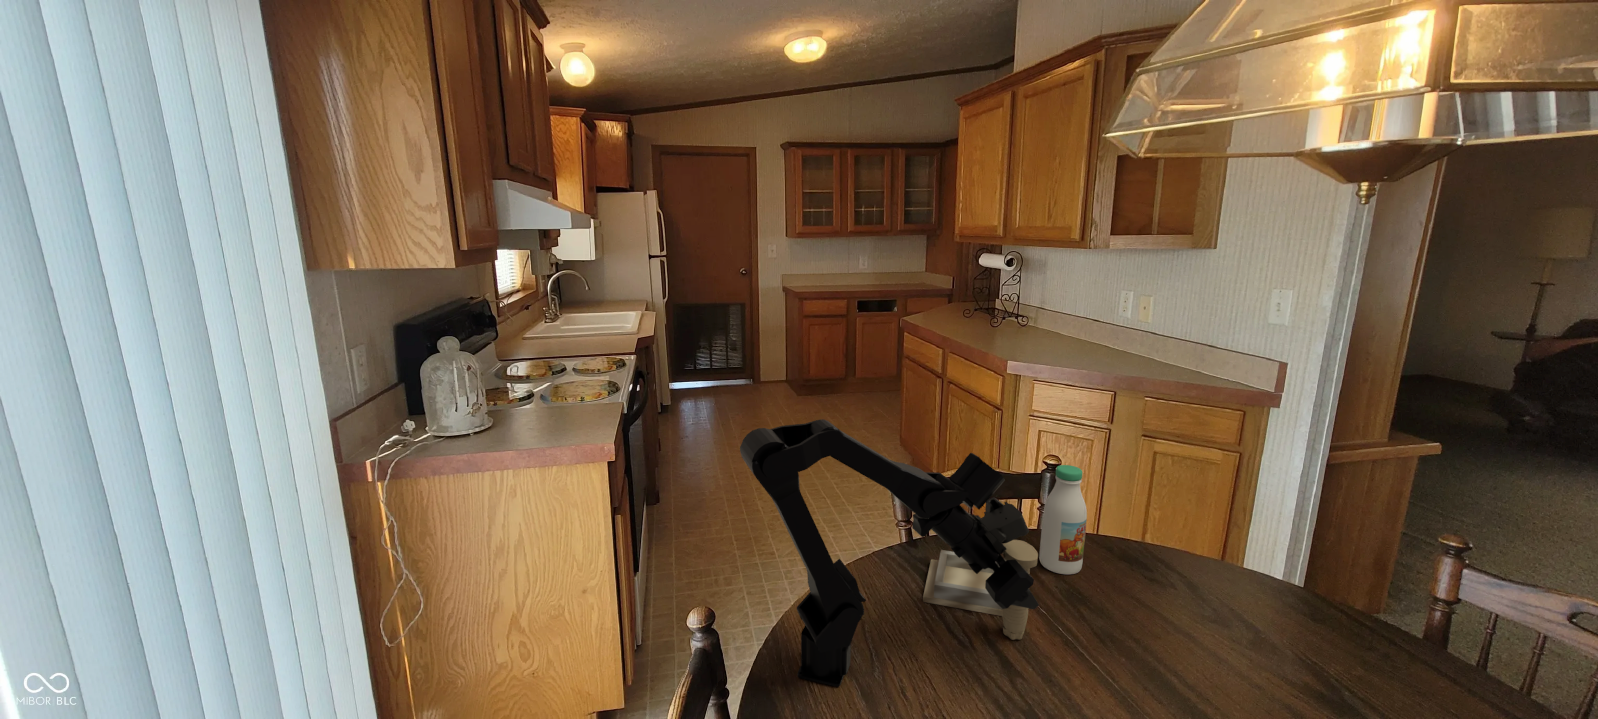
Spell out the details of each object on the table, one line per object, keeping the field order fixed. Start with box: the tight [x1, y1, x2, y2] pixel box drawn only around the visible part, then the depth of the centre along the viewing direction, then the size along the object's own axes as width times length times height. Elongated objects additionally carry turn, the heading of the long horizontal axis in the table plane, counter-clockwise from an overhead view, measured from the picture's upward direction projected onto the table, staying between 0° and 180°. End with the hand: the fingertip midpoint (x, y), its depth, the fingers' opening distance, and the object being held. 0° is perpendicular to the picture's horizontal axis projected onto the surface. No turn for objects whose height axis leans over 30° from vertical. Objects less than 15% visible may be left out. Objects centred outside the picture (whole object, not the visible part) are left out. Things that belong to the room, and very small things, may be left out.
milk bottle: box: [1038, 464, 1088, 575], centre depth 117 cm, size 8×8×20 cm
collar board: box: [922, 549, 1006, 617], centre depth 111 cm, size 16×13×4 cm
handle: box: [1002, 539, 1039, 641], centre depth 97 cm, size 5×6×15 cm
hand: (1022, 589), depth 97 cm, fingers open, 9 cm apart
